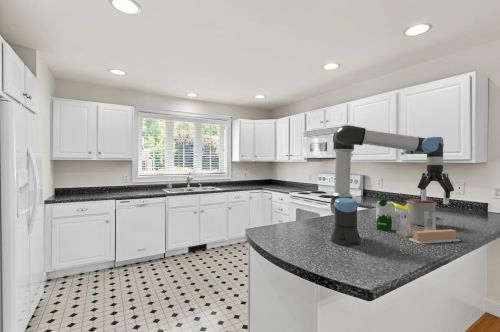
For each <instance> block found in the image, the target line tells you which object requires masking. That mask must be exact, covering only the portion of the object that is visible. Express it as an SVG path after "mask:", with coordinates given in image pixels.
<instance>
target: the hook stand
mask: <svg viewBox="0 0 500 332" xmlns="http://www.w3.org/2000/svg"><path fill="white" fill-rule="evenodd" d="M436 215H437V214H436V212H434V213H431V217H429V212H424V226H423V227H424V228H423V229H412V227H411V226H412V223H411V214H406V216H404V213H400V214H399V230H396V231H395V234H396V235H399V236H403V237H406V238H413V231H431V230H437V228H436V227H437V226H436V225H437V223H436V221H437V219H436V218H437V216H436Z"/></svg>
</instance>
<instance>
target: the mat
mask: <svg viewBox="0 0 500 332" xmlns="http://www.w3.org/2000/svg"><path fill="white" fill-rule="evenodd" d="M408 240H409V241H411V242H413V243H417V244H420V245H421V244H435V243H438V244H439V243H451V242H452V241H453V242H461V239H459V238H456V239H443V240H428V241H416V240H413V237H409V238H408Z"/></svg>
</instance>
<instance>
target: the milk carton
mask: <svg viewBox="0 0 500 332" xmlns="http://www.w3.org/2000/svg"><path fill="white" fill-rule="evenodd" d="M392 202H393V201H388V200H387V199H386V198H379V201H377V202H376V203H375V204H376V208H375V209H376V210H375V211H376V212H375V213H376V221H375V222H376V223H375V224H376V230H378V231H385V232H389V231H391V230H392V228H393V227H392V226H393V203H392Z"/></svg>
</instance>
